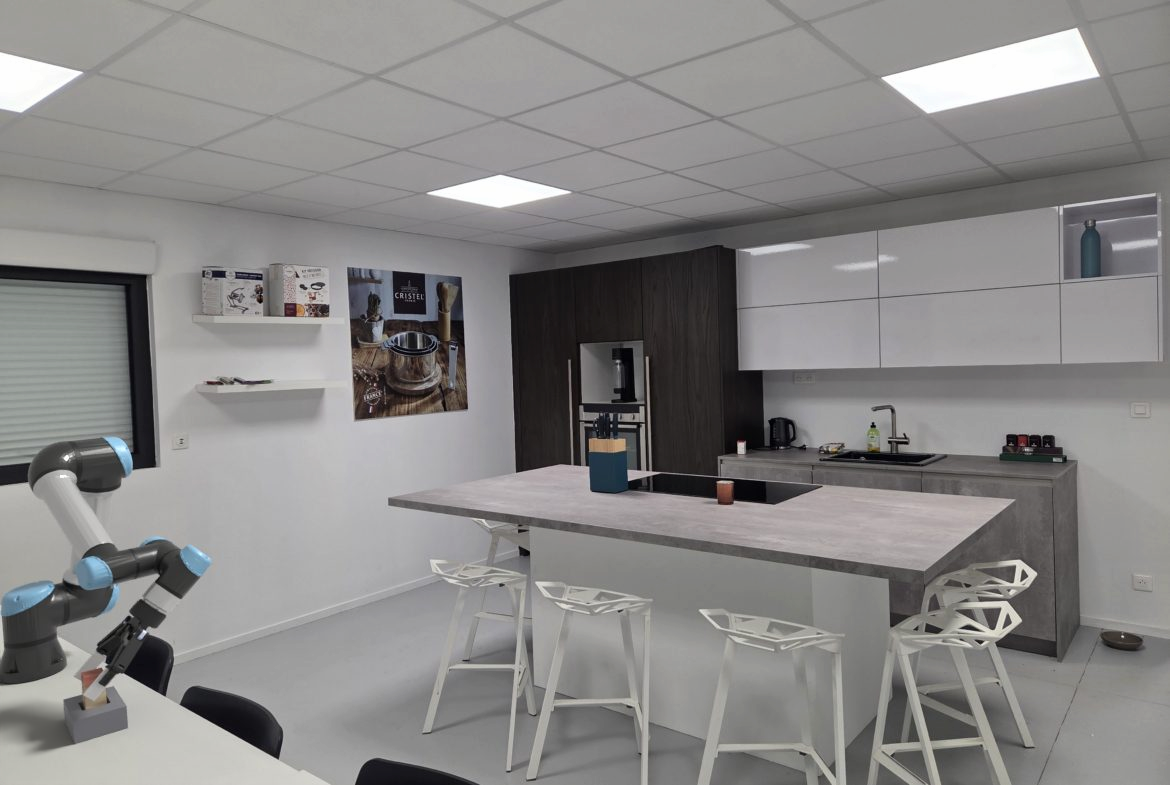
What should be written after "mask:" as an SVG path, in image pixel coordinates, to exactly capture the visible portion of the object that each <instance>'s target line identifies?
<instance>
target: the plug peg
mask: <svg viewBox="0 0 1170 785" xmlns="http://www.w3.org/2000/svg"><path fill="white" fill-rule="evenodd" d="M103 670H104V669H103V668H102V667H97V668H96V669H93V670H89V671H85V672H82V673H81V680H80V682H81V690H82V691H81V693H82V694H81V695H82V696H83V710H87V709H90V708H94V707H97V706H101V705H104V704H107V699H106V688H107V687H106V688H105V689H104V690H103V691H102V693H101V694H100V695H99V696H98V697H97V698H96V700H95V701H93V700H91V699H90V698H88V697H86V696H84V695H83V693H84V692H85V691H86V690H87V689H88V688H89V687H90V685H91V684H92V683H93V682H94V681H95V680H96V678H97V677H98V676H99V675H100V674H101V673H102V671H103Z"/></svg>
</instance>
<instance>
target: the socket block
mask: <svg viewBox="0 0 1170 785" xmlns="http://www.w3.org/2000/svg"><path fill="white" fill-rule="evenodd" d="M106 699H107V704H104V705H101V706H97V707H94V708H90V709H87V710H83V696H82V694H78V695H75V696H70V697H68V698H64V699H63V717H64V723H65V725H66V727H67V729H68V731H69V733H70V736H71V739H72V740H73V743H74V744H75V745H76V744H80V743H83V742H85V741H87V742H88V741H89V740H92V739H97V738H100V737H102V736H103V737H104V736H106V735H109V734H113V733H116V732H119V731H122V730H125V729H129V724H128V723H129V722H128V720H129V719H128V706H127V704H126V702H124V700H123V698H122V697H121V695H120V694H119V692H118V690H117V689H116V687H115V686H114V685H112V686H107V687H106Z"/></svg>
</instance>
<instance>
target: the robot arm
mask: <svg viewBox="0 0 1170 785" xmlns="http://www.w3.org/2000/svg"><path fill="white" fill-rule="evenodd" d="M133 464H134V463H133V458H132V454H131V451H130V449H129V446H128V445H127V444H126V442H125V441H124V440H123V439H121V438H120V437H116V436H109V437H108V436H107V437H106V436H100V437H96V438H95V437H94V438H86V439H75V440H64V441H63V440H62V441H57V442H54V443H49V445H46V446H45V447H44V448H41V450H39V452H37V454H35V455H34V457H33V458H32V460H31V462H30V465H29V467H28V471H27V472H28V473H27V481H28V482H27V483H28V485H29V488H30V489H31V491H32V493H33V495H34V496H35V498H37V499H39V500H42V501H44V503H45V505H46V507H47V508H48V510H49V511H50V513H51V515H52V516H53V518H54V520H55V521H56V523H57V524H58V526H59V528H60V530H61V532H63V535H64V536H65V537H66V539H67V541H68V542H69V544H70V545H71V554H70V566H69V567H68V568H67V569H66V570H65V571H64V572H63V574H62V581H61V582H58V583H54V582H53V581H51V580H38V581H37V582H36V581H33V582H30V583H25V584H23V585H20V586H18V587H15V588H13V589H11V590H9V591H8V592H6V593H5V594H4V595H3V596H2V598H1V601H0V603H1V604H0V607H1V608H0V615H1V622H2V636H3V653H2V656H1V658H0V683H1V684H20V683H27V682H33V681H36V680H40V679H44V678H47V677H50V676H52V675H55V674H57V673H59V672H61V671H63V670H64V669H65V668H66V667H67V665H68V659H67V655H66V653H65V651H64V649H63V647H62V645H61V643H60V641H59V639H58V627H62V626H66V625H69V624H73V623H77V622H80V621H83V620H87V619H91V618H92V619H93V618H94V619H95V618H97V617H99V616H101V615H105V614H108V613H110V611H112V610H113V609H114V608H115V607H116V605H117V602H118V600H119V597H120V586H119V584H121V583H125V582H129V581H133V580H134V581H135V580H137V579H142V578H146V577H150V576H154V575H158V577H157V578H156V579H155V580H154V581H153V582H152V583H151V584H150V585H149V586H148V588H147V589H146V590H145V591H144V592H143V593H142V596H141V597H142V598H140V599H138V600H137V601H136V602H135V603H134V604H133V605H132V606H131V608H130V609H129V611H128V612H129V614H128V615H127V616H126V617H125V618H124V619H123V620H122V621H121V622H120V623H119V624H118V625H116V627H115V628H113V629H112V630H111V631H110V632H108V634H106V635H105V636H104V637H103V638H102V639H101V640H99V641H98V642H97V644H96V646H97V647H96V649H95V651H94V652H93V653H92V654H91V655H90V656H89V657H88V659H87V660H86V661H85V662H84V663H83V665H82V666H81V667H80V668H79V669H78V670H77V671H76V672H75V673H74V675H73V677H74V678H75V679H77V680H79V681H81V673H82V672H85V671H89V670H93V669H97V668H99V666H101V664H102V663H103V662H104V660H106V659H107V658H108V657H110V654H111V652H112V651H113V650H115V649H116V648H118V649H117V651H116V652H115V655H114V656H113V658H112V661H111V662H110V663H108V664H106V665H105V666H104V669H103V671H102V673H101V674H100V675H99V676H98V677H97V678H96V680H95V681H94V682H93V683H92V684H91V685H90V687H89V688H88V689H87V690H86V691H85V692H84V693H83V695H84V696H86V697H88V698H90V699H91V700H93V701H95V700H96V698H97V697H98V696H99V695H100V694H101V693H102V691H103V690H104V689H105V688H108V687H109V686H108V685H110V683H111V682H113V679H115V678H116V676H117V675H123V674H124V673H125V672H126V670H127V669H128V668H129V665H130V664H131V662H132V661H133V659H134V658H135V657H136V654H137V653H138V651H139V650H140V648H141V647H142V645H143V643H144V642H145V641H146V639H147V638H149V636H150V632H148V631H147V630H148V628H151V629H158V628H159V627H160V625H161V624H162V623H163V622H164V621H165V620H166V618H167V615H166V614H170V613H171V612H172V611H173V610H174V609H175V608H177V607H179V605H180V602H181V600H182V599H183V598H184V597H185V596H186V594H187V593H189V591H190V590H191V589H192V588H193V587H194V586H195V584H196V583H197V582H198V581H199V580H200V578H201V577H203V576H204V574H205V573H206V571H207V570H208V569H209V567H210V566H211V564H212V558H211V557H209V556H208V555H206V554H205V553H204V552H202V551H201V550H199V549H198V548H196V547H195V546H193V545H192V544H187V545H186V546H184V547H183V548H182V549H181V548H180V547H179V546H177V545H175V544H174V543H173V542H172V541H171V540H169V539H166V538H164V537H162V536H151V537H148V538H147V539H146V540H143V541H142V543H141V544H140V545H139V546H136V547H133V548H132V547H131V548H128V549H122V550H118V548H117V546H116V545H115V543H114V541H113V540H112V538H111V537H110V534H111V533H110V532H111V524H112V514H113V504H114V496H115V495H114V494H115V492H117V491H118V490H119V489H120V488H121V487H122V479H126V478H128V477H130V476H131V474H132V473H133V467H134V466H133ZM131 615H132V616H131Z"/></svg>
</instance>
